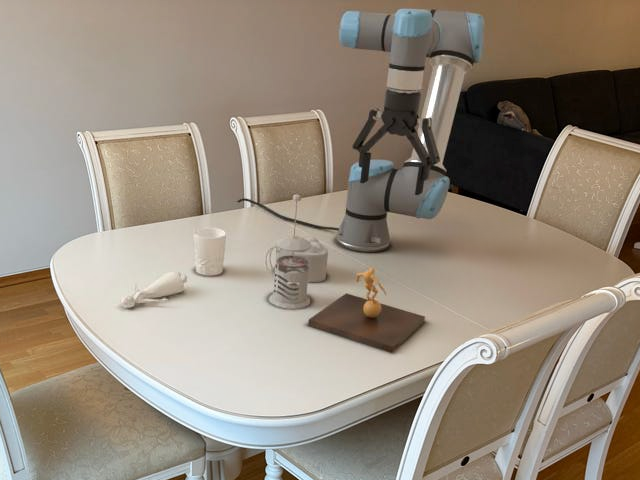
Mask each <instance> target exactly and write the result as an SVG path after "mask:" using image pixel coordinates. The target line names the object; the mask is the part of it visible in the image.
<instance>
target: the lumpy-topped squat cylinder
mask: <svg viewBox="0 0 640 480" xmlns="http://www.w3.org/2000/svg"><path fill="white" fill-rule="evenodd" d="M297 236H298V237H300V236H299V235H297ZM303 238H304V237H303ZM304 239H305V240H307V241H308V242H309V243H311V245H312V247H311V248H310V249H309V250H307V251H304V252H294V255H293V252H291V251H286V250H283V249H281V251H279V250H280V248H279V247H278V246H276V245H275V246H276V247H277V251H279V252H276V251H275V261H274V262H275V263H274V266H275V265H276V264H277V270H279V264H278V263H277V259H278V258H279V257H281V256H287V255H288V256H289V255H292V256H298V257H303V258H305V259H306V260H307V261H308V264H307V266H308V267H309V271H308V283H320V282H324V281H325V280H326V278H327V267H328V258H329V249H328V247H326V246H325V245H324V244H322V243H321V242H319V240H318V238H316V237H314V236H309V237H307V238H304ZM288 269H292V268H287V270H288ZM297 269H299V270H301V271H302V272H303V273H304V271H303V269H302V268H297ZM288 273H289V274H293V273H296V274H299V273H300V272H297V271H290V272H288Z"/></svg>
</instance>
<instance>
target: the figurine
mask: <svg viewBox="0 0 640 480" xmlns="http://www.w3.org/2000/svg"><path fill="white" fill-rule="evenodd" d="M374 274H375V268H374V267H371V268H370V269H368V270H366V271H363V272H359V273H357V274H356V280H355V281H356V283H359V282H360V281H361V280H360V277H362V278H363V280H364V288H365V289H366V290H367V292H366V299H367V300H368V301H367V302H366V303H365V304H364V307H363V311H364V313H365V315H366V316H368V317H370V318H374V317H377V316H378V315H379V314H380V313H381V305H380V302H379V301H378V300H376V299H375V298H376V296H377V294H378V293H379V290H378V289H377V288H376V286H375V285H373V283H375V284H376V285H378V287H379V288H380V290H381V291H382V292H383V293H384V295H385V296H386V295H387V292H386V290H385V288H384V287H383V285H382V284H381V283H380V282H379V280H378V279H377V278H376V276H375V275H374ZM371 292H372V293H373V294H372V295H371V298H370V294H371Z"/></svg>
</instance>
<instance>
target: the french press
mask: <svg viewBox="0 0 640 480" xmlns="http://www.w3.org/2000/svg"><path fill="white" fill-rule="evenodd" d="M292 201H294V202H296V203H295V214H294V219H295V222H294V227H293V228H294V229H293V235H287V236H284V237H281V238H279V239H277V240H276V241H275V246H272V247H270V248H269V249H268V250H267V252H266V254H265V266H266V270H267V272H269V274H270V276H272V277H273V278H274V280H273V293H272V294H271V295H270V296H268V301H269V302H270V303H271V304H272V305H273V306H276V307H278V308H282V309H286V310H287V309H289V310H290V309H291V310H296V309H303V308H305V307H308V306H309V305H310V304H311V298H310V297H309V296H308V295H307V294H308V283H309V282H308V271H309V267H308V266H307V264H308V261H307V260H306V259H305V258H303V257H298V256H292V255H289V256H288V255H287V256H281V257H279V258H278V259H277V263H278V264H279V270H277V264H276V265H275V264H274V267H273V265H272V260H271V258H272V252H273V250H274V249H275V253H276V252H279V251H281V249H283V250H286V251H291V252H293V255H294V252H304V251H307V250H309V249H310V248H311V247H312V245H311V243H309V242H308V241H307V240H305V239H306V238H305V239H304V237H301V236H299V235H296V225H297V222H296V220H297V210H298V202H300V201H302V196H301V195H300V194H293V196H292ZM298 236H299V237H298ZM276 246H278V247H279V248H280V250H279V251H277V247H276ZM268 254H269V264H270V268H271V269H272V271H273V272H274V273H272V272H271V270H269V267H268ZM287 268H292V269H288V270H287ZM297 268H302V269H303V271H304V273H303V272H302V271H301V270H299V269H297ZM290 271H297V272H300V273H299V274H296V273H293V274H289V273H288V272H290ZM298 283H299V284H298Z"/></svg>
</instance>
